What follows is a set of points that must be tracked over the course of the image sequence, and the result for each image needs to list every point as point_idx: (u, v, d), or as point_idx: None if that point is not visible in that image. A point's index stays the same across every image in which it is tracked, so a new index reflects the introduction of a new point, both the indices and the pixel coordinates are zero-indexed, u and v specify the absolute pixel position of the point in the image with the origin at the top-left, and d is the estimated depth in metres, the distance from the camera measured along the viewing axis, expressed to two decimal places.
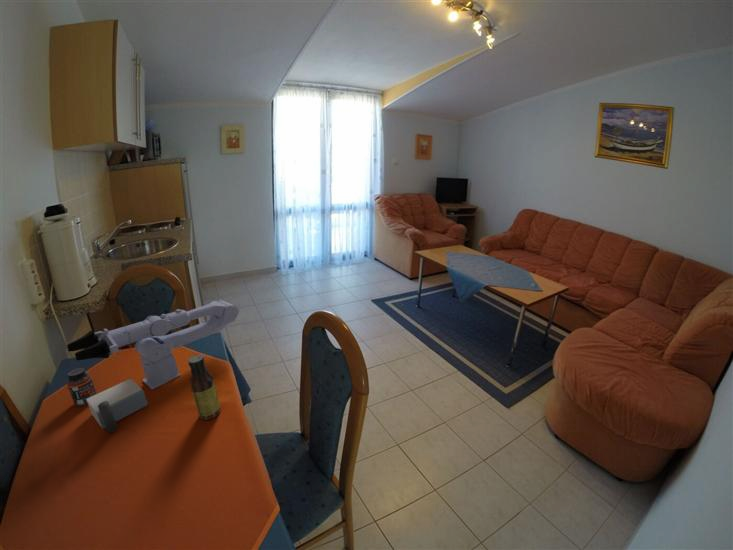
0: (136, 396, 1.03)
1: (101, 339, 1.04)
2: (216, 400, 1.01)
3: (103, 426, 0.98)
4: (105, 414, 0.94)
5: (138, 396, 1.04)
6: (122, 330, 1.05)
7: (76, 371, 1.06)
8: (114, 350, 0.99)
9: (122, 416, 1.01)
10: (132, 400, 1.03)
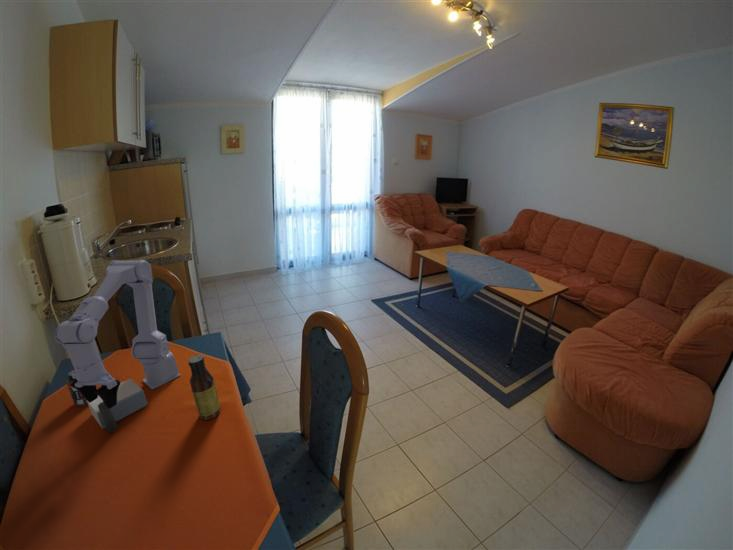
0: (136, 396, 1.03)
1: None
2: (216, 400, 1.01)
3: (103, 426, 0.98)
4: (105, 414, 0.94)
5: (138, 396, 1.04)
6: (81, 371, 0.86)
7: None
8: (113, 383, 0.89)
9: (122, 416, 1.01)
10: (132, 400, 1.03)
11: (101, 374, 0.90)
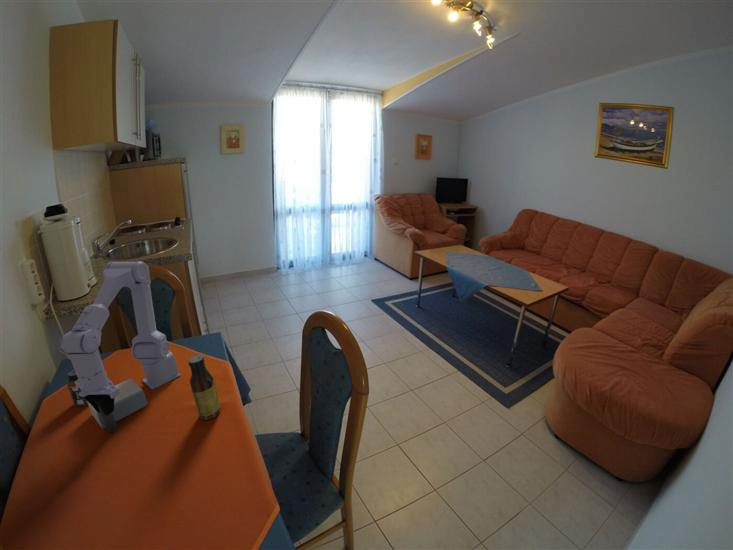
0: (136, 396, 1.03)
1: None
2: (216, 400, 1.01)
3: (103, 426, 0.98)
4: None
5: (138, 396, 1.04)
6: (85, 381, 0.88)
7: None
8: (117, 392, 0.90)
9: (122, 416, 1.01)
10: (132, 400, 1.03)
11: (104, 383, 0.91)
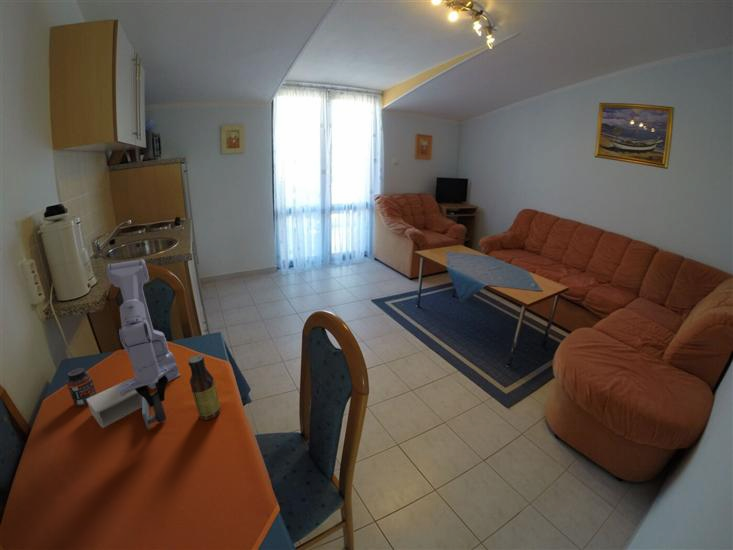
0: None
1: None
2: (216, 400, 1.01)
3: (149, 426, 0.98)
4: (160, 401, 0.98)
5: None
6: (154, 366, 0.93)
7: (76, 371, 1.06)
8: None
9: (148, 416, 1.01)
10: (145, 399, 1.03)
11: None
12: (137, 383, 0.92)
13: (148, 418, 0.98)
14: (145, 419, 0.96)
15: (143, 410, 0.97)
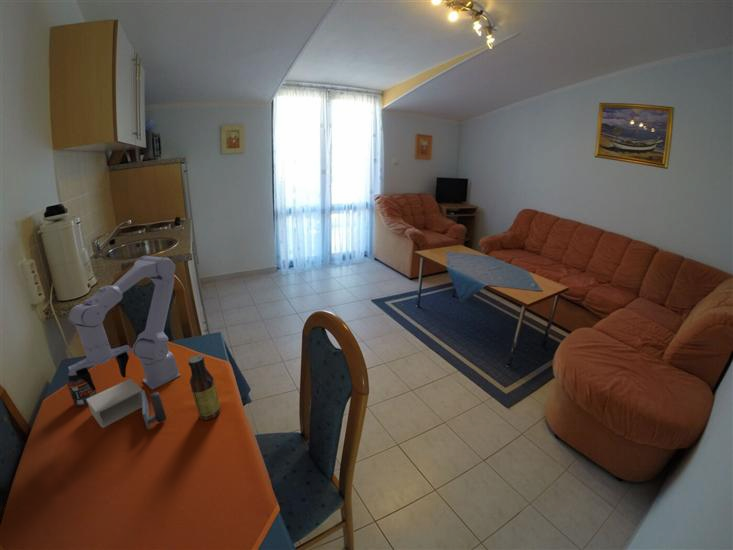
0: (144, 395, 1.04)
1: None
2: (216, 400, 1.01)
3: (149, 426, 0.98)
4: (161, 401, 0.98)
5: (145, 395, 1.04)
6: (104, 347, 0.97)
7: None
8: None
9: (148, 416, 1.01)
10: (145, 399, 1.03)
11: None
12: (88, 362, 0.96)
13: (148, 418, 0.98)
14: (145, 419, 0.96)
15: (143, 410, 0.97)
